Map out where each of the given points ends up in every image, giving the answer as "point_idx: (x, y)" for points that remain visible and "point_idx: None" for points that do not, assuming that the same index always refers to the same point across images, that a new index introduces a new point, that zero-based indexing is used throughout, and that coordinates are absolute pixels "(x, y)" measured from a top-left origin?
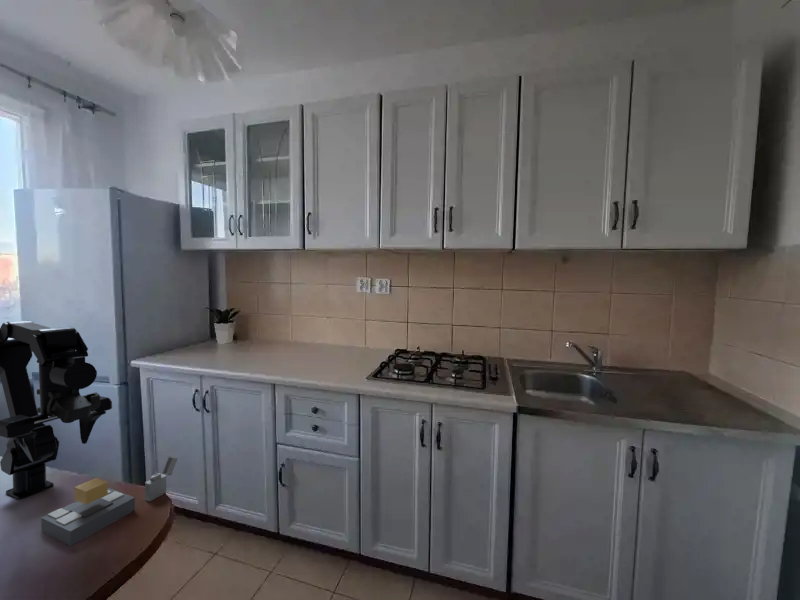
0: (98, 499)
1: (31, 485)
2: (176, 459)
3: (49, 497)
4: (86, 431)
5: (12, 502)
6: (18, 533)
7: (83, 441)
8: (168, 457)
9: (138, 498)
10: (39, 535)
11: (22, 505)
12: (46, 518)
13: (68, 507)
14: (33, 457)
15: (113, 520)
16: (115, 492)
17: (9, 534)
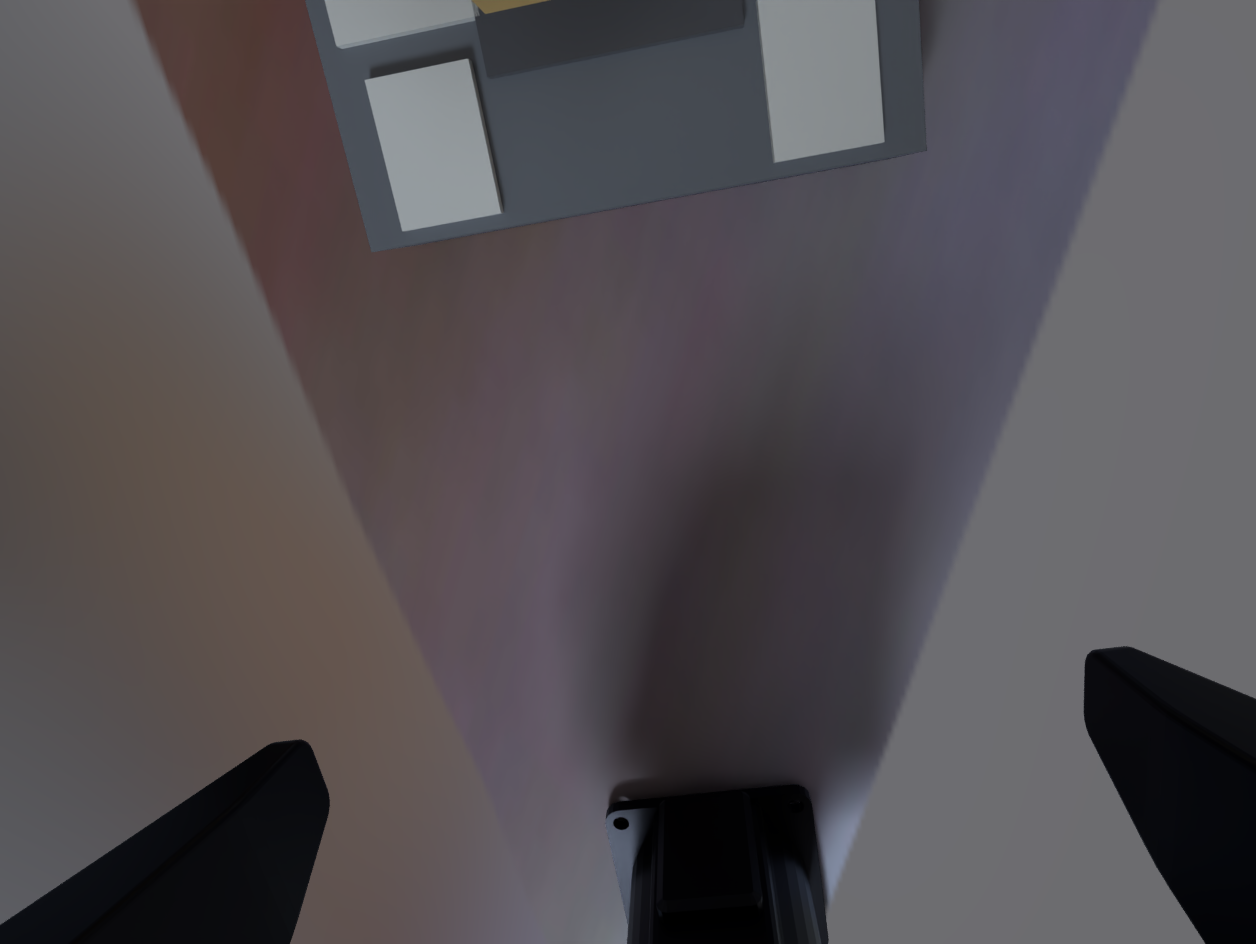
0: None
1: (749, 836)
2: None
3: (678, 660)
4: (102, 933)
5: (841, 786)
6: (982, 297)
7: (297, 794)
8: None
9: (220, 3)
10: None
11: (820, 693)
12: (908, 87)
13: (722, 134)
14: (1182, 684)
15: None
16: (343, 9)
17: (1018, 340)
